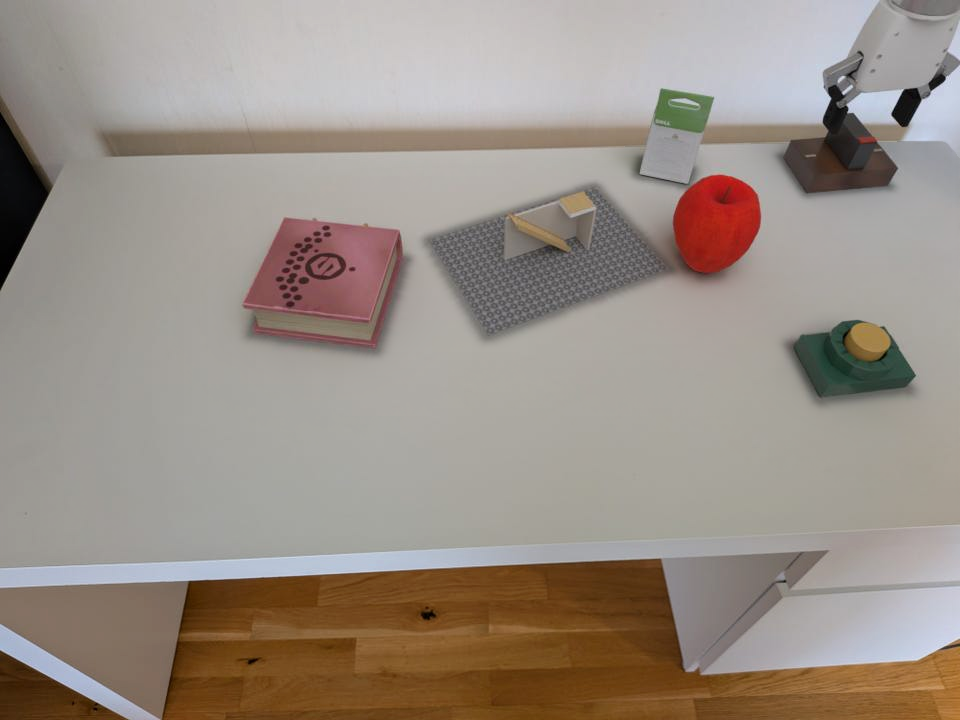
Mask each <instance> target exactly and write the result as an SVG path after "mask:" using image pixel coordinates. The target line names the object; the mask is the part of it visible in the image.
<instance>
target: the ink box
mask: <svg viewBox="0 0 960 720" xmlns="http://www.w3.org/2000/svg"><path fill="white" fill-rule="evenodd" d="M681 99H682V100H684V99H685V100H688V101H691V102H692V103H693V102H694V103H695V104H698V105H695V104H691V103H684V102H680V101H675V100H681ZM714 100H715V96H712V95H705V94H699V93H693V92H686V91H681V90H675V89H669V88H662V87H660V89H659V92H658V98H657V102H656V106H655V108H654V111H653V114H652V118H651V122H650V126H649V129H648V130H649V131H648V135H647V139H646V143H645V147H644V151H643V156H642V160H641V164H640V170H639V175H643V176H647V177H651V178H657V179H661V180H662V179H663V180H666V181H671V182H676V183H681V184H684V185H685V184H686V185H688V184H689V182H690V179H691V176H692V173H693V169H694V166H695V163H696V160H697V156H698V152H699V150H700V146H701V144H702V140H703V137H704V134H705V130H706V127H707V124H708V121H709V117H710V113H711V110H712V107H713V104H714Z"/></svg>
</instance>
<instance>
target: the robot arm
mask: <svg viewBox="0 0 960 720" xmlns="http://www.w3.org/2000/svg"><path fill="white" fill-rule="evenodd" d="M959 23H960V0H879V1H878V3H877V4H876V5H875V7H874V8H873V9H872V11H871V12H870V14H869V16H868V17H867V19H866V20H865V22H864V24H863V25H862V27H861V29H860V31H859V33H858V34H857V36H856V38H855V40H854V42H853V44H852V46H851V48H850V50H849V52H848V54H847V56H846V57H845V59H843V60H840V61H839V62H837V63H834V64H833V65H831V66H829V67H827V68H825V69H824V70H823V71H822V81H823V89H824V90H825V92H826V93H827V95H828V96H829V98H830V100H829V103H828V105H827V107H826V110H825V112H824V114H823V116H822V124H823V126H824V127H825V129H827V132H828V131H829V132H830V133H831V135H836V134H837V133H838V132H839V130H840V128H841V125H842V123H843V121H844V119H845V117H846V115H847V113H849V106H848V104H850V103H851V102H852V101H853V100H855V99H856V98H857V97H859V95H860V94H870V93H881V92H889V91H899V90H902V91H901V93H900V96H899V97H898V99H897V101H896V103H895V105H894V107H893V109H892V111H891V112H890V113H891V114H890V116H891V117H892V119H894V121H895V122H896V123H897V124H898V125H899V126H900V127H901V128H908V127H909V125H910V124H911V121H912V119H913V118H914V116H915V114H916V112H917V110H918V108H920V105H921V103H922V101H923V100H927V98H929V97H930V96H931V94H932V91H935V89H936V88H938V87H940V86H941V85H943V84H944V83H945V82H946V80H947V79H946V78H947V77H949V76H950V75H952V73H953V72H954V71H955V70H956V69H957V68H958V67H959V66H960V59H959V58H958V57H957V56H955V55H954V54H952V53H951V52H949V49H950V46H951V45H952V42H953V39H954V37H955V35H956V31H957V29H958V27H959ZM842 77H844V78H843V79H841V80H840V78H842ZM839 80H840V81H839ZM851 86H852V87H851ZM849 87H851V88H850V89H849V90H848V91H846V90H847V89H848V88H849ZM844 91H846V93H843V92H844Z"/></svg>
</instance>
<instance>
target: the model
mask: <svg viewBox="0 0 960 720" xmlns="http://www.w3.org/2000/svg"><path fill="white" fill-rule="evenodd" d="M597 210H598V208H597V207H596V205H595V204H594V203H593V201H592V200H591V199H590V198H589V197H588V196H587V195H586V193H585V192H584V190H581V191H578V192H574V193H571V194H568V195H565V196H561V197H559V198H556V199H552V200H549V201H545V202H543V203H539V204H537V205H534V206H531V207H527V208H525V209H521V210H518V211H514V212H507V213H506V214H505V215H506V217H505V218H504V237H503V260H504V261H506V260H509V259H512V258H515V257H517V256H520V255H523V254H526V253H529V252H533V251H535V250H538V249H541V248H544V247H547V246H549V245H551V246H553V247H556V248H558V249H560V250H562V251H564V252H567V253H569V252H572V251H573V249H572V248H571V247H569V246H568V244H567V243H566V242H565V240H567V239H570V238H574V237H576V238H577V239H578V240H579V242H580V243H581V244H582V246H583V247H584V248H585V249H586V250H587V251H588V250H589V249H590V248H591V243H592V237H593V232H594V226H595V221H596V215H597Z"/></svg>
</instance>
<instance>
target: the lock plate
mask: <svg viewBox="0 0 960 720" xmlns="http://www.w3.org/2000/svg"><path fill="white" fill-rule="evenodd" d="M825 137H826V136H824V137H823V136H822V137H811V138H810V137H809V138H797V139H791V140H790V141H789V144H788V146H787V148H786V151H785V153H784V155H783V159H784V161H785V163H786V164H787V165H788V167H789V169H790V170H791V171H792V173H793V175H794V176H795V178H796V179H797V181H798V183H800V185H801V187H802V188H803V190H804V191H805V193H806V194H812V193H820V192H821V193H822V192H832V191H833V192H834V191H844V190H856V189H865V188H867V189H868V188H876V187H877V188H879V187H887V186H889V185H890V183H891V181H892V180H893V178H894V176H895V175H896V173H897V171H898V169H899V167H898V165H896V163H895V162H894V160H893V159H891V157H890V155H888V153H887V152H886V151H885V150H884V148H883V147H882V145H880V143H879V142H878V141H877V143H878V144H877V146H876V148H875V150H874V151H873V153H872V155H871V157H870V159H869V160H868V162H867V164H866V166H865V168H861V169H849V170H847V169H846V168H845V166H844V165H843V164H842V162H841V161H840V159H839V158H838V157H837V155H836V154H835V153H834V151H833V150H832V149H831V147H830V146H829V144H828V143H827V142H826V140H825Z"/></svg>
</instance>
